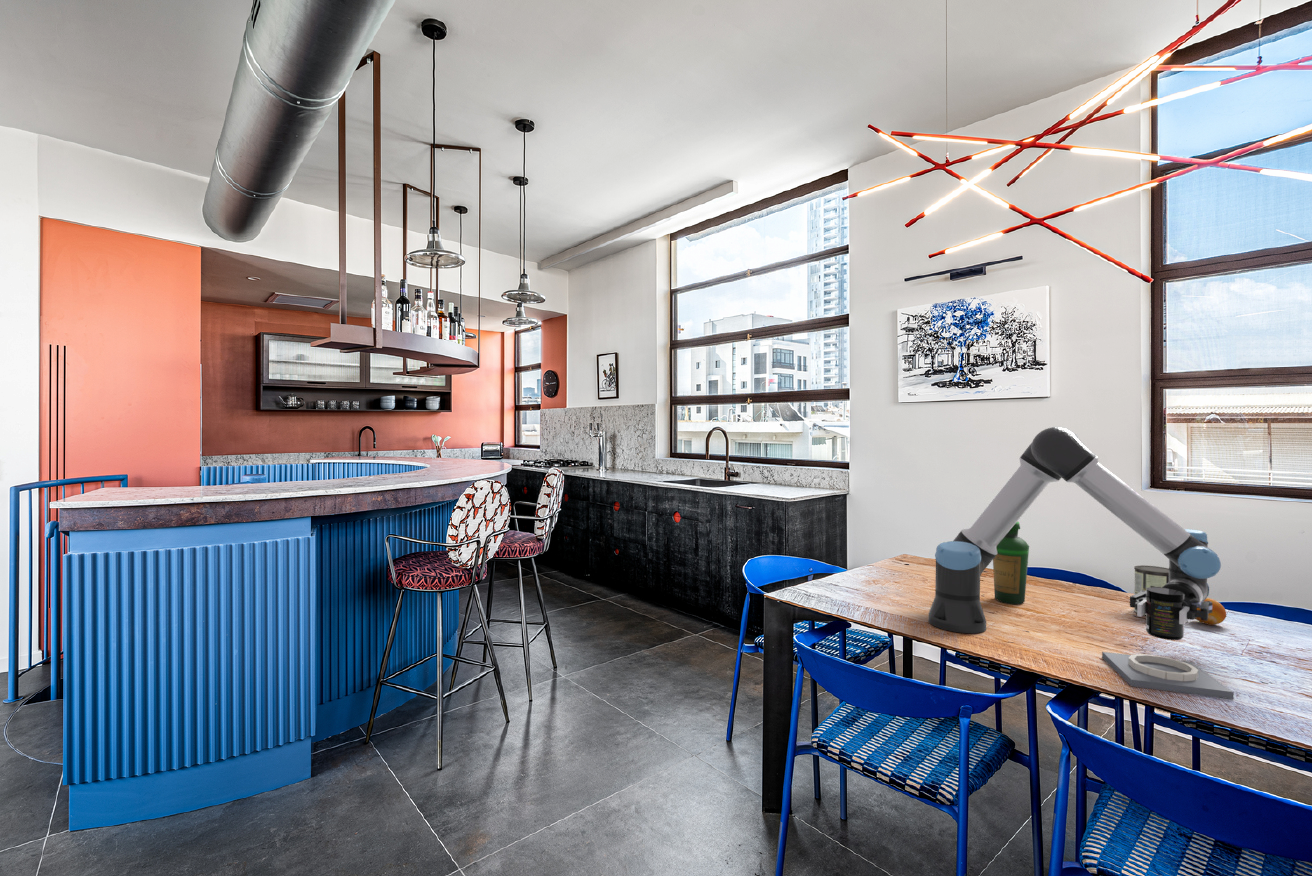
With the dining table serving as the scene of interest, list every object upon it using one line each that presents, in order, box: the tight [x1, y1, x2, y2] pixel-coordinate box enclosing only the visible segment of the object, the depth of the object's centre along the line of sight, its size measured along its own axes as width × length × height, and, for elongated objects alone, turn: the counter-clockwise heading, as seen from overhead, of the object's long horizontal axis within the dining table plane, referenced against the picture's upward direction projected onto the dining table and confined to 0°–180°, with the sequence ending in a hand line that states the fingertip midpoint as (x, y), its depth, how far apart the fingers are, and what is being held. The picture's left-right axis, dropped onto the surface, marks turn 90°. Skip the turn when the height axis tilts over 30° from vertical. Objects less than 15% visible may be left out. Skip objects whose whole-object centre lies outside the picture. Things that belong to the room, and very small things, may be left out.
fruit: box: [1195, 597, 1227, 626], centre depth 179 cm, size 8×9×8 cm
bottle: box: [992, 520, 1030, 605], centre depth 201 cm, size 11×11×28 cm
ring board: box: [1101, 651, 1235, 700], centre depth 140 cm, size 18×18×3 cm
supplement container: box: [1145, 587, 1185, 641], centre depth 139 cm, size 7×7×10 cm
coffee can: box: [1133, 565, 1169, 616], centre depth 188 cm, size 10×10×14 cm
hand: (1160, 614), depth 136 cm, fingers closed on supplement container, 7 cm apart
